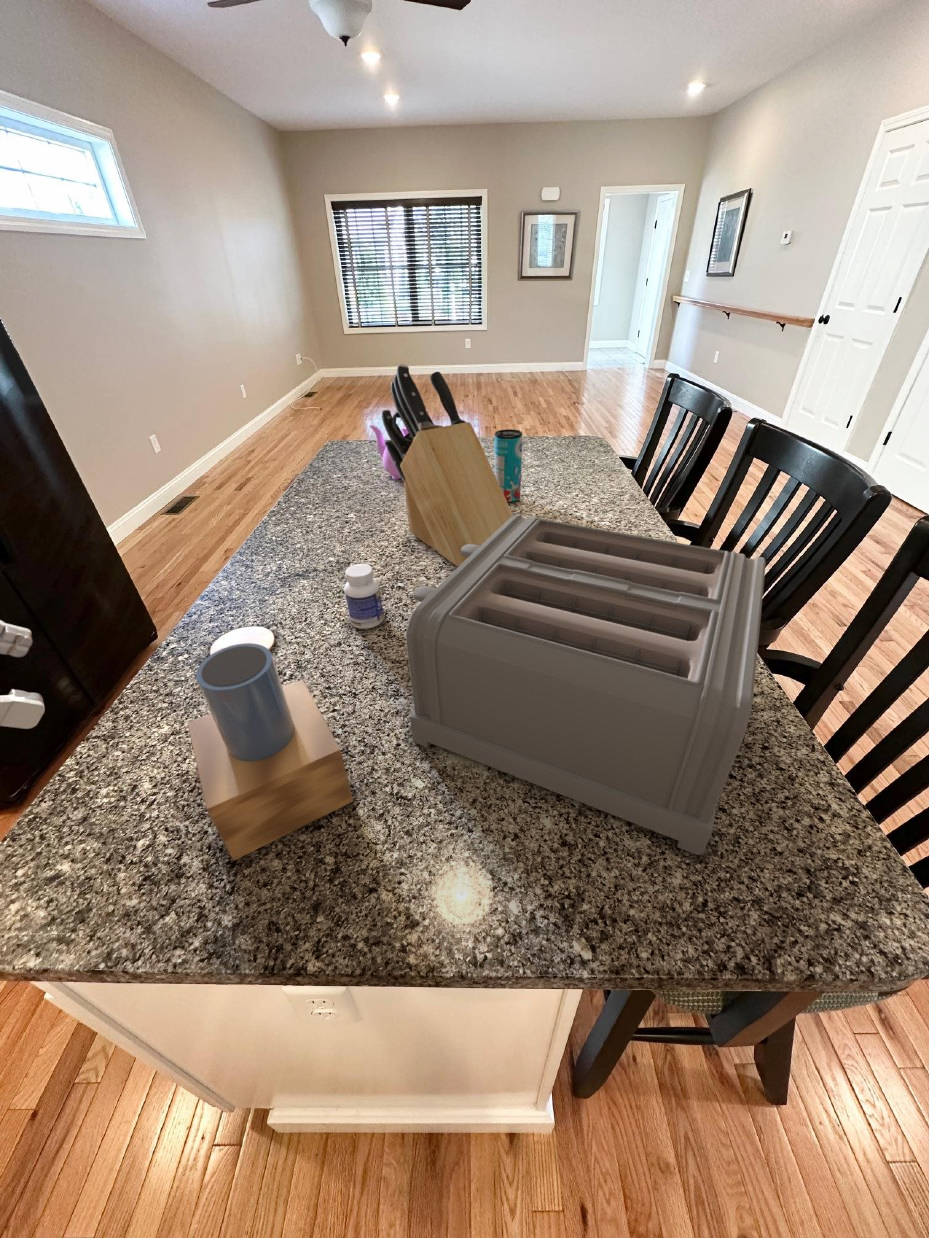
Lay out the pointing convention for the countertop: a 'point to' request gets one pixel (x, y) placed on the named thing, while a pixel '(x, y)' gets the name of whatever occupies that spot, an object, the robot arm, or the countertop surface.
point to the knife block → (442, 472)
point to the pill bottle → (363, 597)
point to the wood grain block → (271, 778)
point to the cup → (246, 701)
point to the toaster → (593, 667)
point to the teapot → (387, 452)
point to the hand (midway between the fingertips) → (34, 675)
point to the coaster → (245, 638)
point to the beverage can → (509, 463)
